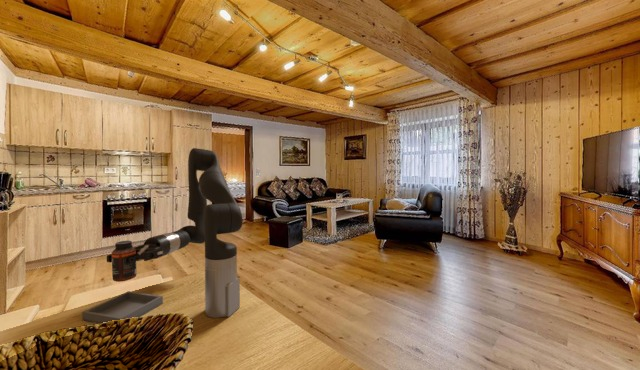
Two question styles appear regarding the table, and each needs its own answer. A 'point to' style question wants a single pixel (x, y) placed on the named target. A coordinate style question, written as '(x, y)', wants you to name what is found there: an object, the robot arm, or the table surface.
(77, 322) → the table surface
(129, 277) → the supplement bottle
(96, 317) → the tray
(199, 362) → the table surface
